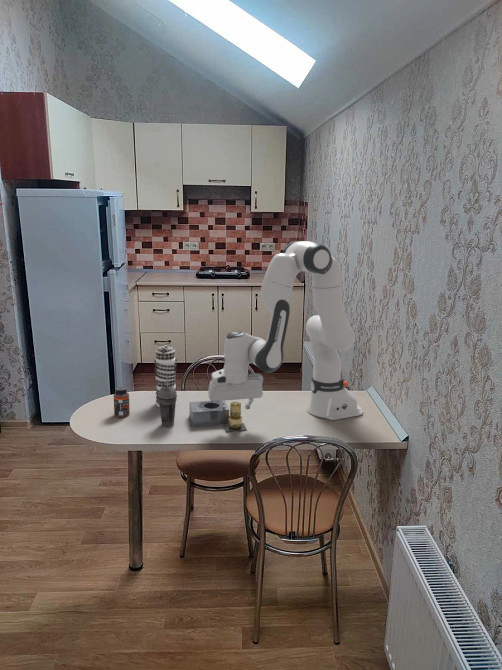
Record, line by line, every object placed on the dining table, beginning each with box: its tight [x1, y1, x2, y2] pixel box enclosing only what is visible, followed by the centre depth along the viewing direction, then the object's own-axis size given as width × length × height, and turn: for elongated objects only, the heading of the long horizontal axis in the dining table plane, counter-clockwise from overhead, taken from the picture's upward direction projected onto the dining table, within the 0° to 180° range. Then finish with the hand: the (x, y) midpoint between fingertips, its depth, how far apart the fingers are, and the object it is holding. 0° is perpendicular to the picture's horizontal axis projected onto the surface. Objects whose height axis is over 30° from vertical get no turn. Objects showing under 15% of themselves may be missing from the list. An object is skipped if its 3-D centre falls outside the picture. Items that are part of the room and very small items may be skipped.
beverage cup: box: [158, 376, 178, 428], centre depth 197 cm, size 7×7×20 cm
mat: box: [222, 422, 248, 433], centre depth 197 cm, size 8×6×1 cm
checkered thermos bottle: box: [153, 344, 178, 408], centre depth 215 cm, size 9×9×25 cm
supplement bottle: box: [113, 386, 131, 419], centre depth 205 cm, size 6×6×11 cm
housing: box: [188, 400, 230, 428], centre depth 203 cm, size 14×10×6 cm
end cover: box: [229, 401, 243, 430], centre depth 196 cm, size 5×5×10 cm
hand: (235, 409), depth 196 cm, fingers open, 8 cm apart
